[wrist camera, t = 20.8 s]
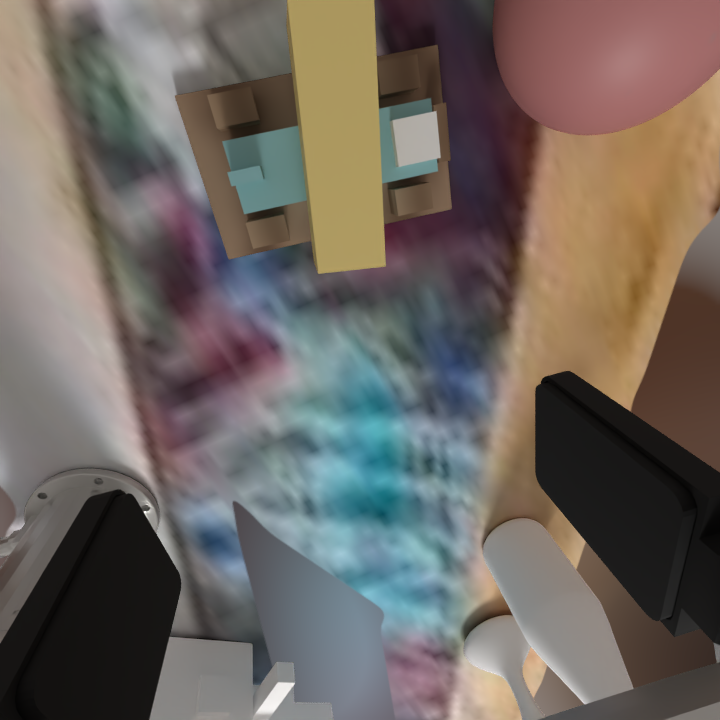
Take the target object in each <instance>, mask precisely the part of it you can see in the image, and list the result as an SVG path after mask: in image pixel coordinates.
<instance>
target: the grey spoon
mask: <svg viewBox="0 0 720 720" xmlns="http://www.w3.org/2000/svg"><path fill="white" fill-rule="evenodd" d="M530 647H531V646H530V645H529V643H528V642H527V640H526V639H525V637H524V635H523V633H522V631H521V629H520V627H519V626H518V624H517V622H516V620H515V618H514V616H513V615H502V616H497V617H494V618H491V619H489V620H486V621H484V622H483V623H481V624H479V625H478V626H477V627H475V628H474V629H473V630H472V631H471V632H470V633H469V635H468V636H467V638H466V640H465V643H464V650H463V651H464V655H465V657H466V658H467V660H468V661H469V662H470V663H471V664H472V665H474V666H476V667H477V668H479V669H482V670H484V671H487V672H490V673H493V674H496V675H499V676H501V677H503V678H504V679H505V680H506V681H507V682H508V684H509V686H510V687H511V689H512V692H513V694H514V696H515V698H516V701H517V703H518V706H519V709H520V712H521V716H522V720H538V719H541V718H545V717H546V716H545V715H544V713H543V712H542V711H541V710H540V708H539V707H538V705H537V704H536V702H535V701H534V699H533V697H532V695H531V693H530V691H529V689H528V687H527V685H526V683H525V680H524V677H523V673H522V668H523V664H524V661H525V659H526V657H527V655H528V652H529V650H530Z"/></svg>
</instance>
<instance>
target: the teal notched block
mask: <svg viewBox="0 0 720 720" xmlns="http://www.w3.org/2000/svg"><path fill="white" fill-rule="evenodd" d="M379 124H380V147H381V171H382V184H383V183H387V182H392V181H396V180H401V179H405V178H410V177H414V176H419V175H423V174H428V173H432V172H437V171H438V165H437V158H441V155H440V144H439V134H438V123H437V113H436V111H434V112H432V105H431V98H429V99H424V100H419V101H414V102H410V103H405V104H400V105H395V106H390V107H385V108H381V109H379ZM222 142H223V146H224V149H225V152H226V156H227V159H228V162H229V166H230V169H231V172H227V173H228V176H229V180H230V183H231V186H236V189H237V192H238V195H239V199H240V202H241V205H242V209H243V212H244V214H247V213H252V212H256V211H261V210H265V209H270V208H274V207H279V206H284V205H288V204H293V203H297V202H302V201H306V200H307V197H306V189H305V180H304V172H303V163H302V154H301V146H300V137H299V129H298V126H294V127H289V128H284V129H280V130H275V131H270V132H265V133H260V134H255V135H251V136H246V137H241V138H236V139H231V140H227V141H222Z"/></svg>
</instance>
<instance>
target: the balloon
mask: <svg viewBox="0 0 720 720" xmlns="http://www.w3.org/2000/svg"><path fill="white" fill-rule="evenodd" d="M493 43H494V51H495V57H496V61H497V65H498V69H499V72H500V75H501V77H502V80H503V82H504V84H505V86H506V88H507V90H508V92H509V93H510V95H511V97H512V98H513V99H514V101H515V102H516V103H517V104H518V106H519V107H520V108H521V109H522V110H523V111H524V112H525V113H526V114H528V115H529V116H530V117H531V118H533V119H534V120H536V121H537V122H539V123H540V124H542V125H544V126H546V127H549V128H551V129H554V130H557V131H560V132H564V133H568V134H575V135H600V134H607V133H613V132H617V131H621V130H625V129H628V128H631V127H634V126H636V125H639V124H642V123H644V122H646V121H648V120H651V119H653V118H655V117H657V116H658V115H660V114H662V113H664V112H666V111H667V110H669V109H671V108H672V107H674V106H675V105H677V104H678V103H680V102H681V101H683V100H684V99H686V98H687V97H688V96H690V95H691V94H692V93H693V92H695V91H696V90H697V89H698V88H700V87H701V86H702V85H703V84H704V83H705V82H706V81H708V80H709V79H710V78H711V77H712V76H713V75H714V74H715V73H716V72H717V71H718V70H719V69H720V0H495V3H494V13H493Z"/></svg>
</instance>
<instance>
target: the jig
mask: <svg viewBox="0 0 720 720" xmlns="http://www.w3.org/2000/svg"><path fill="white" fill-rule="evenodd" d="M377 78H378V101H379V109H381V108H385V107H390V106H395V105H400V104H405V103H410V102H414V101H419V100H424V99H429V98H431V105H432V112H434V111H436V113H437V123H438V134H439V144H440V155H441V158H437V165H438V171H437V172H432V173H428V174H423V175H419V176H414V177H410V178H405V179H401V180H396V181H392V182H387V183H383V184H382V194H383V217H384V224H387V223H392V222H396V221H401V220H405V219H410V218H414V217H418V216H423V215H427V214H432V213H436V212H440V211H445V210H449V209H452V206H451V194H450V183H449V171H448V161H449V160H451V158H450V146H449V134H448V122H447V110H446V103H443V101H442V89H441V78H440V66H439V54H438V45H434V46H429V47H424V48H419V49H413V50H408V51H403V52H398V53H393V54H388V55H382V56H377ZM175 98H176V101H177V104H178V107H179V110H180V113H181V116H182V119H183V122H184V125H185V128H186V131H187V134H188V138H189V141H190V144H191V147H192V150H193V153H194V156H195V159H196V162H197V165H198V168H199V171H200V174H201V177H202V180H203V183H204V186H205V189H206V192H207V195H208V198H209V201H210V204H211V207H212V210H213V213H214V216H215V219H216V222H217V225H218V228H219V231H220V234H221V237H222V240H223V243H224V246H225V249H226V252H227V255H228V258H229V259H233V258H237V257H241V256H246V255H250V254H255V253H259V252H264V251H268V250H272V249H277V248H281V247H286V246H290V245H295V244H299V243H303V242H308V241H312V240H311V232H310V223H309V214H308V206H307V200H306V201H302V202H297V203H293V204H288V205H284V206H279V207H274V208H270V209H265V210H261V211H256V212H252V213H247V214H244V212H243V209H242V205H241V202H240V199H239V195H238V192H237V189H236V186H231V183H230V180H229V176H228V173H227V172H231V169H230V166H229V162H228V159H227V156H226V152H225V149H224V146H223V142H222V141H227V140H231V139H236V138H241V137H246V136H251V135H255V134H260V133H265V132H270V131H275V130H280V129H284V128H289V127H294V126H298V120H297V112H296V103H295V94H294V86H293V77H292V73H290V74H285V75H279V76H274V77H269V78H264V79H259V80H254V81H248V82H243V83H238V84H233V85H228V86H223V87H218V88H212V89H207V90H202V91H197V92H192V93H187V94H181V95H176V96H175Z"/></svg>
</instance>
